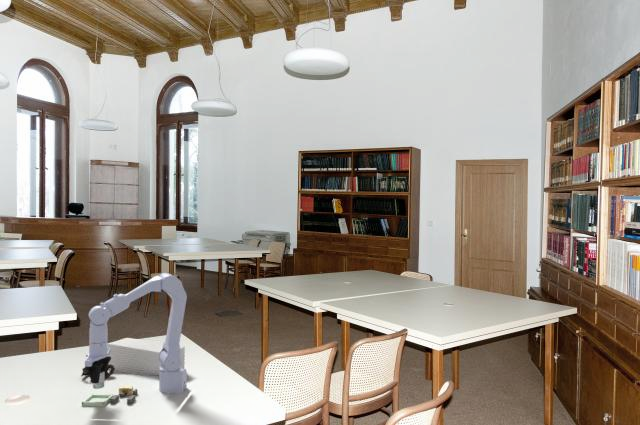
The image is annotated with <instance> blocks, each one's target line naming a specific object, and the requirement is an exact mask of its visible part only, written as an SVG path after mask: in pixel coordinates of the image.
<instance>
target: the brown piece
mask: <svg viewBox="0 0 640 425" xmlns="http://www.w3.org/2000/svg"><path fill="white" fill-rule="evenodd" d="M109 368H111V369H109ZM81 370H82V372H81V377H83V376H85V377H86V376H90V375H89V372H88V370H87V369H86V367H85V366H84V367H83V368H82V369H81ZM109 370H110V371H109ZM115 371H116V370H115V368H114V366H113V365H111V364H110V365H108V366H107V370H106V374H105V377H104V380H106V379H108V378H110V376H113V374H114V373H115ZM89 382H90V383H92V382H91V380H90V381H89Z"/></svg>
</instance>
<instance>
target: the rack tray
mask: <svg viewBox="0 0 640 425" xmlns="http://www.w3.org/2000/svg"><path fill="white" fill-rule="evenodd" d="M113 396H114V394H109V393H108V394H106V393H105V394H102V393H101V394H98V393H94V394H93V393H91V394H90V395H89V396H88V397H86V398H85V399H84V400H83V401H81V406H82V407H105V406H106V405H107V404H108V403H110V399H111V398H112V397H113Z"/></svg>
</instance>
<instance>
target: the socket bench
mask: <svg viewBox="0 0 640 425" xmlns="http://www.w3.org/2000/svg"><path fill="white" fill-rule="evenodd" d="M137 395H138V389H137V388H134V389H133V394H132V395H129V397H127V399H126V405H132V404H133V403H135V401H136V396H137ZM125 397H126V395H125V393H120V394H119V393H118V394H113V397H112V398H111V399H110V402H109V404H110V405H111V404H112V405H115V404H116V403H117V402H118V401H119V400H120V398H125Z"/></svg>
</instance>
